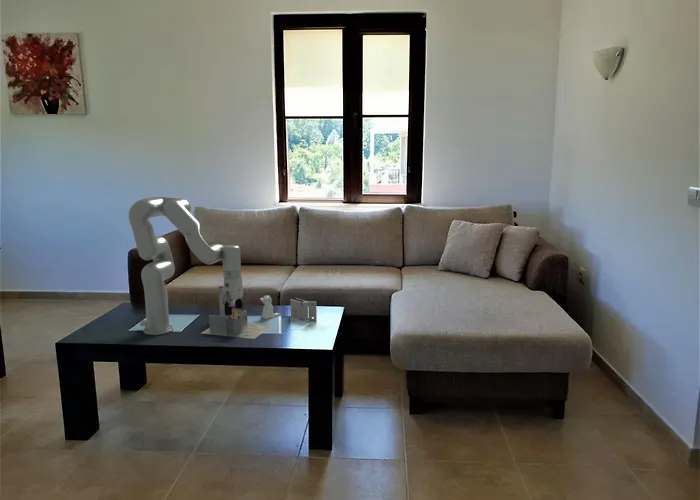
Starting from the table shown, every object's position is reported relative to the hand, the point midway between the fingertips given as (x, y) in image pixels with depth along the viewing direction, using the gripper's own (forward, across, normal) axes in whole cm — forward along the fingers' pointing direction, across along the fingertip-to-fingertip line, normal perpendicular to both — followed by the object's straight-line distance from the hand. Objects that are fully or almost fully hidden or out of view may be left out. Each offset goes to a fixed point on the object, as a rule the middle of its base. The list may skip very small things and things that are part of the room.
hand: (233, 311), depth 238 cm
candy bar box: (+11, +24, +14) cm, 30 cm away
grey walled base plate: (+11, +5, +1) cm, 12 cm away
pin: (+10, 0, 0) cm, 10 cm away
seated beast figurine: (+11, +26, -5) cm, 29 cm away
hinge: (+11, +28, -22) cm, 37 cm away
